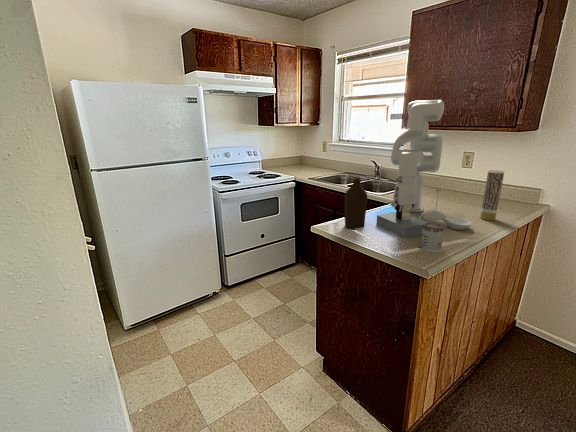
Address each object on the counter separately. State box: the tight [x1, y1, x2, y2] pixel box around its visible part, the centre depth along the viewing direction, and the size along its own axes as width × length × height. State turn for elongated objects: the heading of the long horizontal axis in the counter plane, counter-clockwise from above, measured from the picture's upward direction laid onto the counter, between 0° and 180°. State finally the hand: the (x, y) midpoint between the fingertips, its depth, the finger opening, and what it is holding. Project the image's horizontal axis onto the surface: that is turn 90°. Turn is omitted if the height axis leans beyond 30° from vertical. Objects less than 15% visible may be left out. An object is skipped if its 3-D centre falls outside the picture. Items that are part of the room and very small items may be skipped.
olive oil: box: [344, 175, 368, 231], centre depth 150 cm, size 11×11×25 cm
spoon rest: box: [418, 209, 473, 231], centre depth 152 cm, size 24×12×7 cm, turn 59°
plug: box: [396, 205, 411, 221], centre depth 144 cm, size 4×4×11 cm
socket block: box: [376, 211, 430, 239], centre depth 146 cm, size 20×14×6 cm
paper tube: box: [480, 169, 505, 221], centre depth 159 cm, size 7×7×25 cm
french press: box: [418, 187, 446, 253], centre depth 125 cm, size 10×12×25 cm
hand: (402, 217), depth 145 cm, fingers closed on plug, 4 cm apart
